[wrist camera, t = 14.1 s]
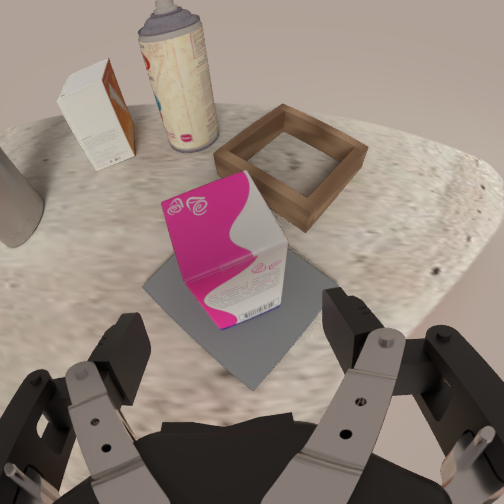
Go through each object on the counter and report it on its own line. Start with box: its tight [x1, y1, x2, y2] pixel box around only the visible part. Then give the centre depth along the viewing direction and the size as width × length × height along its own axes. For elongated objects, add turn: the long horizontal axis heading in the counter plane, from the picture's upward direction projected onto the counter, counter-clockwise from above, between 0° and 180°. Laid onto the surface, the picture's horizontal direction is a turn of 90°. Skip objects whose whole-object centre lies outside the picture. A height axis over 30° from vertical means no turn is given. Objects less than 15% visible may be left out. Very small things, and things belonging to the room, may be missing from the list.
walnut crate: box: [213, 104, 368, 233], centre depth 31 cm, size 12×12×4 cm
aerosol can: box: [138, 0, 219, 153], centre depth 27 cm, size 7×7×20 cm
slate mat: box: [142, 248, 339, 391], centre depth 26 cm, size 14×12×1 cm
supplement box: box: [161, 170, 288, 330], centre depth 20 cm, size 6×6×12 cm
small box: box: [56, 58, 135, 171], centre depth 30 cm, size 8×6×13 cm
